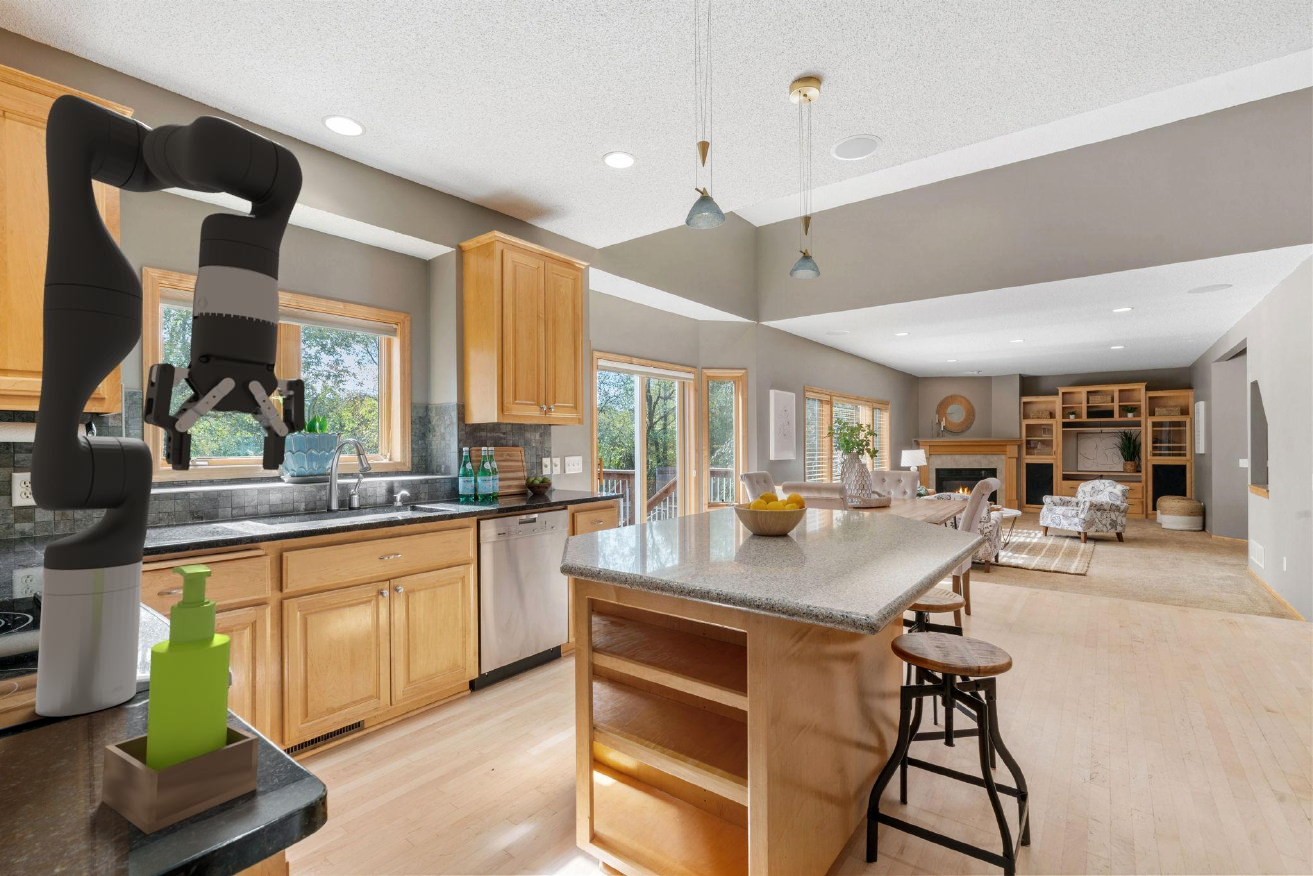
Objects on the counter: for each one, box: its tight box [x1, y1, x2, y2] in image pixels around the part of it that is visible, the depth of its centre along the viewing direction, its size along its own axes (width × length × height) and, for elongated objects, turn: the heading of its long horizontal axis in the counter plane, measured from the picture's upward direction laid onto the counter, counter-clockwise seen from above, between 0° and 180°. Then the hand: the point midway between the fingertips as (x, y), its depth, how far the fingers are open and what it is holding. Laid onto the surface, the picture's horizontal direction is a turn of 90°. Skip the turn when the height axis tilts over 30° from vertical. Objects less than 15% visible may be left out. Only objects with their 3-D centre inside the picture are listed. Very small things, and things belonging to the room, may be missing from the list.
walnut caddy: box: [101, 722, 260, 835], centre depth 57 cm, size 9×8×5 cm
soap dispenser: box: [146, 563, 231, 771], centre depth 57 cm, size 6×7×20 cm
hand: (227, 470), depth 65 cm, fingers open, 8 cm apart
